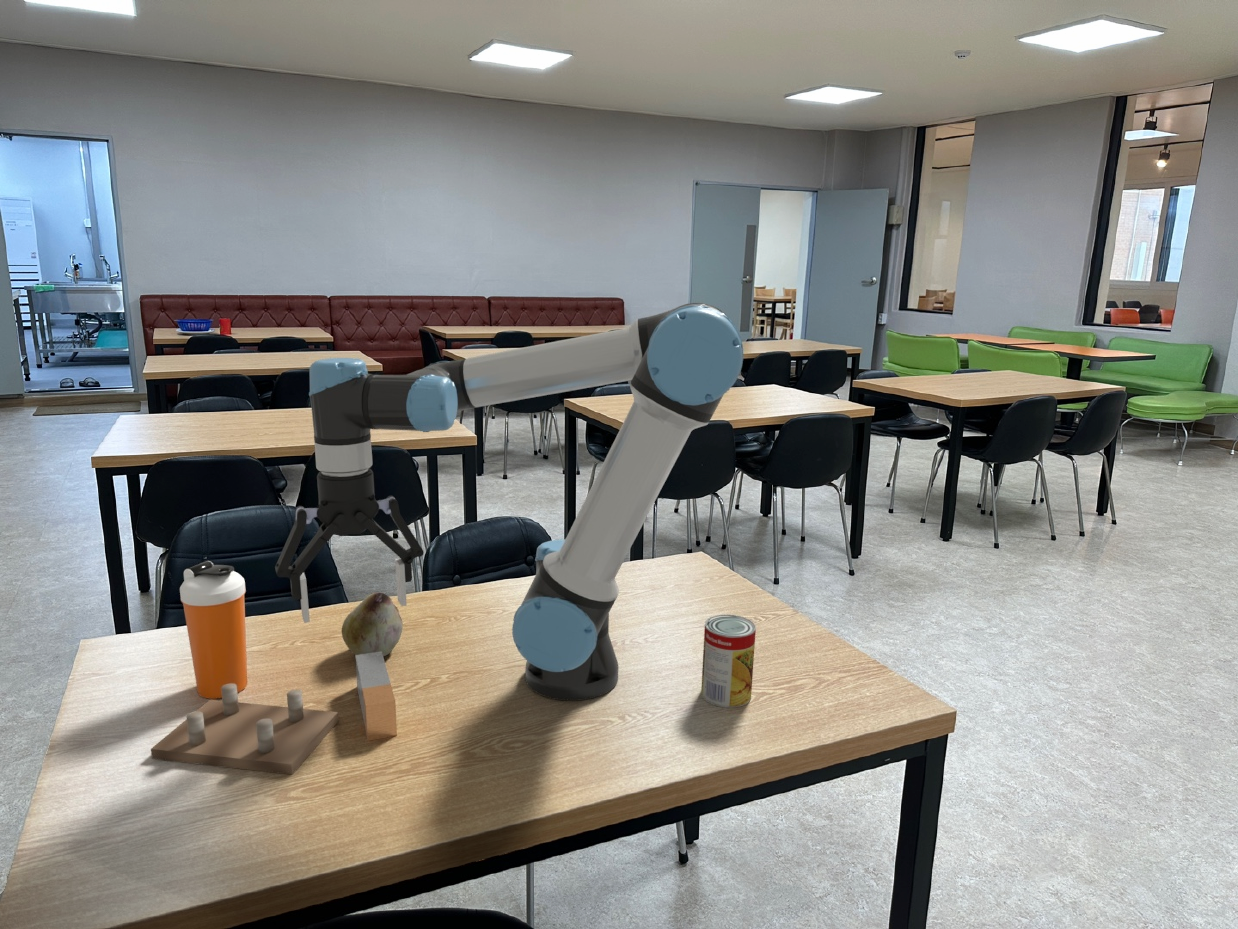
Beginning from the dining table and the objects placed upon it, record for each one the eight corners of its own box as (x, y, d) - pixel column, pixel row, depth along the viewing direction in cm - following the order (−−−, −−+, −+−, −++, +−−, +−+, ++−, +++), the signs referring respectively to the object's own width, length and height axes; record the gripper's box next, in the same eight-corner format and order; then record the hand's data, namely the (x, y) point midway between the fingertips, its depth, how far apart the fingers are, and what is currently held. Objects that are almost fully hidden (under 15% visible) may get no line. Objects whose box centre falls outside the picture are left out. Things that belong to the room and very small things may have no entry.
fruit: (376, 672, 135) (373, 604, 132) (330, 661, 139) (326, 594, 136) (414, 646, 144) (411, 582, 142) (369, 636, 148) (366, 573, 145)
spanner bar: (357, 687, 131) (355, 655, 129) (383, 682, 132) (381, 651, 131) (367, 741, 116) (365, 705, 115) (396, 735, 118) (395, 700, 116)
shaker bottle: (229, 705, 124) (217, 581, 119) (177, 698, 126) (163, 575, 121) (265, 677, 133) (255, 560, 128) (216, 670, 134) (204, 554, 130)
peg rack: (338, 721, 121) (336, 687, 119) (292, 774, 108) (289, 737, 107) (211, 708, 123) (207, 675, 122) (151, 759, 111) (147, 722, 109)
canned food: (757, 690, 133) (762, 621, 130) (740, 713, 126) (745, 640, 123) (712, 678, 136) (716, 610, 133) (693, 699, 129) (696, 628, 127)
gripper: (427, 455, 125) (433, 587, 130) (246, 472, 114) (260, 616, 119) (439, 466, 118) (446, 605, 123) (249, 486, 107) (264, 637, 112)
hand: (355, 610), depth 121 cm, fingers open, 13 cm apart
